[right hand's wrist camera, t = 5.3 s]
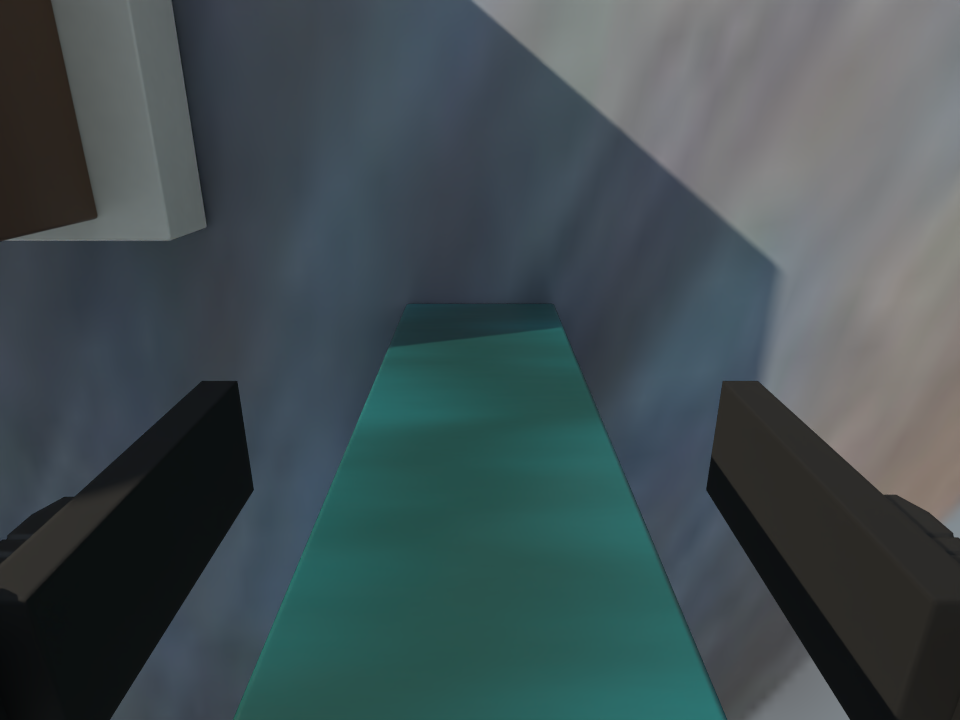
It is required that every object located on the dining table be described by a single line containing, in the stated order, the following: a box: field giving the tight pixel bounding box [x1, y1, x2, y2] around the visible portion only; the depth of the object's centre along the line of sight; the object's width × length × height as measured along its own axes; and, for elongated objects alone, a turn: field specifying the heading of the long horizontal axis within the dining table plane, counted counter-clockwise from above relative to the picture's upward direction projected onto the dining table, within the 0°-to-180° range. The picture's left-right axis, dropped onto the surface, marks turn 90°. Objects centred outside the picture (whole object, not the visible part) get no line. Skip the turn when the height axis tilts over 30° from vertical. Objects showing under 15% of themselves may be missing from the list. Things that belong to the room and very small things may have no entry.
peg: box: [233, 304, 727, 720], centre depth 11 cm, size 4×4×14 cm
